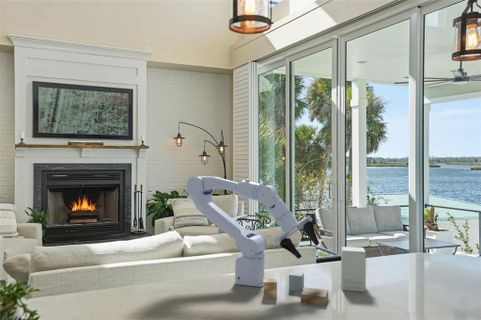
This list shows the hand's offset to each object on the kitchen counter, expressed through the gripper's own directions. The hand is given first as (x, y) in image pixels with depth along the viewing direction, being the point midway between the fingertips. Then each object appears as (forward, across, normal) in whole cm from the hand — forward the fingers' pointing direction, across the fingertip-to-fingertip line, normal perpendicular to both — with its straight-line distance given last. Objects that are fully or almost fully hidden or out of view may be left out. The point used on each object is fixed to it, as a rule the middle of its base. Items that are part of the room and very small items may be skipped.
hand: (309, 251), depth 135 cm
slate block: (+7, -9, +6) cm, 13 cm away
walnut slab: (+12, -10, -4) cm, 16 cm away
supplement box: (+18, +7, +5) cm, 20 cm away
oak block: (+4, -19, +1) cm, 19 cm away
